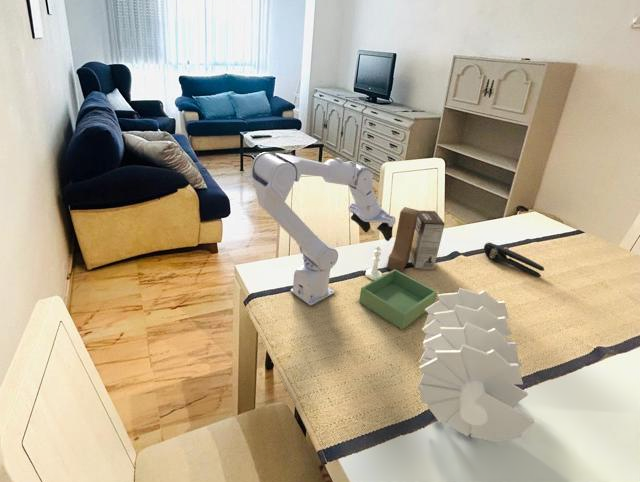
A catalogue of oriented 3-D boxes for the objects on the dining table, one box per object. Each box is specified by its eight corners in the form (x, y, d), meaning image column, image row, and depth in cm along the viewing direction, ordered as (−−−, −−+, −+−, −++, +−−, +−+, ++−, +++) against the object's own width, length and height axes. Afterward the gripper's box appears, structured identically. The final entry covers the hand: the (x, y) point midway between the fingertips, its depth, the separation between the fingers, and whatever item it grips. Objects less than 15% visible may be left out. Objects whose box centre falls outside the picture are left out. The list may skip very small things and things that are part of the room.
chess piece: (378, 282, 111) (383, 252, 108) (362, 275, 114) (367, 246, 110) (384, 275, 115) (390, 245, 111) (369, 268, 118) (374, 240, 114)
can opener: (477, 257, 127) (481, 242, 125) (486, 251, 132) (490, 236, 130) (537, 282, 115) (542, 266, 113) (544, 274, 120) (550, 259, 118)
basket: (401, 329, 93) (405, 314, 91) (358, 301, 102) (361, 287, 101) (434, 305, 102) (437, 291, 101) (392, 282, 112) (394, 268, 110)
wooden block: (400, 274, 116) (411, 220, 109) (386, 269, 118) (395, 216, 111) (408, 261, 123) (419, 210, 116) (394, 256, 125) (404, 206, 119)
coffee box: (406, 253, 128) (414, 209, 122) (425, 254, 128) (435, 210, 122) (414, 268, 119) (424, 222, 113) (435, 269, 119) (446, 223, 113)
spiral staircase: (431, 451, 70) (434, 351, 91) (545, 460, 61) (520, 348, 83) (401, 371, 65) (412, 286, 87) (520, 370, 57) (500, 276, 78)
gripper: (397, 197, 100) (407, 232, 108) (354, 185, 111) (366, 217, 118) (381, 215, 97) (393, 250, 105) (338, 201, 108) (352, 233, 116)
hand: (378, 234), depth 111 cm, fingers open, 7 cm apart
